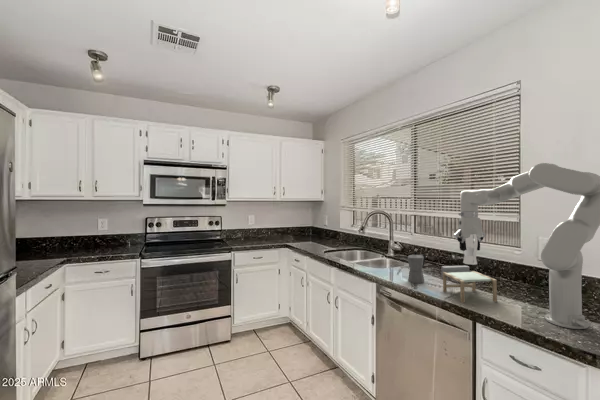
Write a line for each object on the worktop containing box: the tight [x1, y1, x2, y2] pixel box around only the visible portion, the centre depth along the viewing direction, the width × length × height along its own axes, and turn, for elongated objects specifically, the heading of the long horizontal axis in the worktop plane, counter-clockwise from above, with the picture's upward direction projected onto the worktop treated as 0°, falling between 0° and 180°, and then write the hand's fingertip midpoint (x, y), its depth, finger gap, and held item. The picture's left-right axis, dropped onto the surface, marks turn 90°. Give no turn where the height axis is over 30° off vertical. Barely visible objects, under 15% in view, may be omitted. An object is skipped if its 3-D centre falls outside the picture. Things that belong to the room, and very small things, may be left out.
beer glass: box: [462, 234, 478, 266], centre depth 145 cm, size 7×7×15 cm
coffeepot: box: [407, 251, 426, 284], centre depth 175 cm, size 15×9×18 cm, turn 121°
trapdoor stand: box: [442, 270, 498, 304], centre depth 147 cm, size 17×17×10 cm
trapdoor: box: [440, 265, 492, 283], centre depth 150 cm, size 20×14×5 cm
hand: (469, 249), depth 145 cm, fingers closed on beer glass, 6 cm apart
